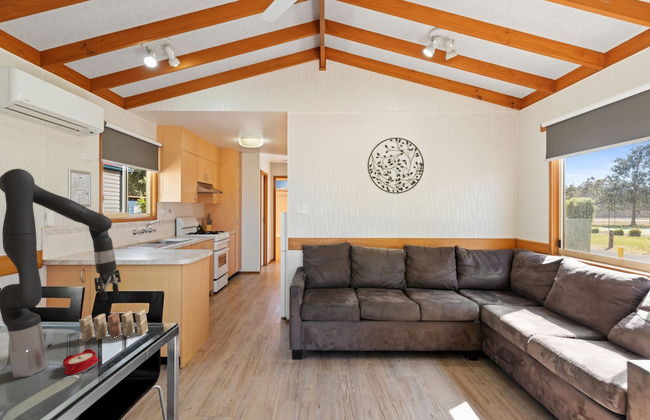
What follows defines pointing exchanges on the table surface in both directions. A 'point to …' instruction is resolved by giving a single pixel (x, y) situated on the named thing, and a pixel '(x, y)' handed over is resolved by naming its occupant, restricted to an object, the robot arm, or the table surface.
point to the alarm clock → (79, 361)
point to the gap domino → (114, 324)
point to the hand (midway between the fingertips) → (110, 296)
